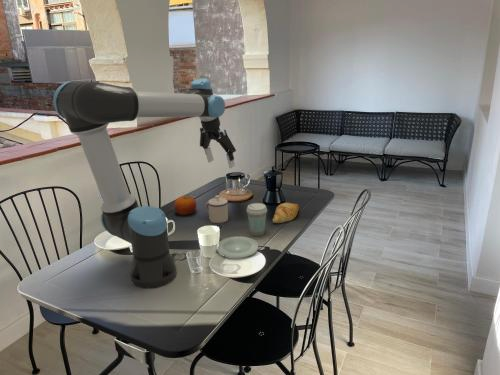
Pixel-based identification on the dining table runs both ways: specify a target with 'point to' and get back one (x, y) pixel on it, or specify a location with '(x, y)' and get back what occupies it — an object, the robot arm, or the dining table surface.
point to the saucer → (237, 247)
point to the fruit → (185, 205)
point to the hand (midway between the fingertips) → (221, 164)
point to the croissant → (285, 212)
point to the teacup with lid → (217, 209)
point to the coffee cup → (257, 218)
